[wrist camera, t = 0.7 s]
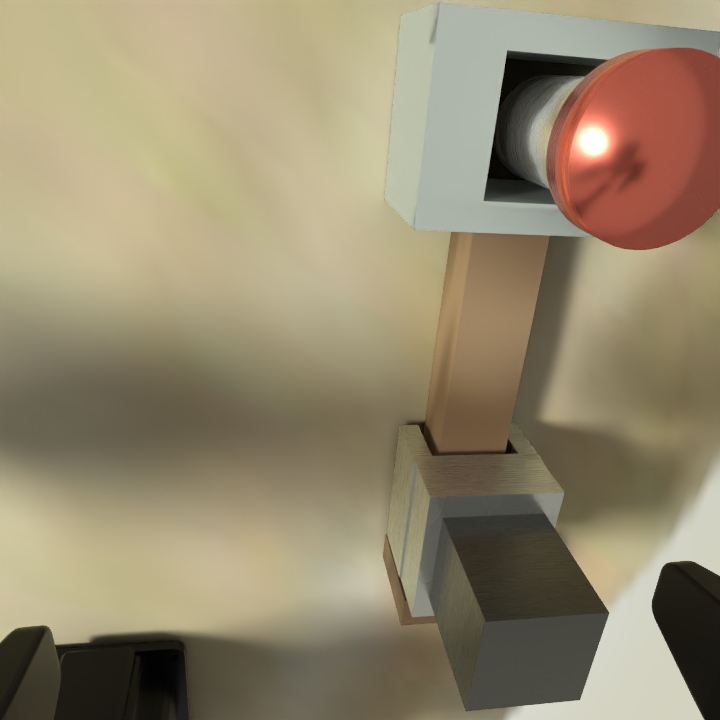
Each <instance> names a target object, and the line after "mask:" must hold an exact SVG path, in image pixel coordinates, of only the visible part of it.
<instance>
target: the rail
mask: <svg viewBox="0 0 720 720" xmlns="http://www.w3.org/2000/svg"><path fill="white" fill-rule="evenodd" d="M549 239H550V236H549V235H524V234H499V233H473V232H451V239H450V246H449V253H448V260H447V267H446V275H445V282H444V289H443V296H442V304H441V311H440V318H439V325H438V332H437V340H436V347H435V354H434V361H433V368H432V376H431V383H430V390H429V397H428V404H427V412H426V419H425V426H424V433H423V437H424V439H425V441H426V444H427V446H428V448H429V450H430V452H431V455H432V456H447V455H486V454H505V451H506V446H507V441H508V437H509V432H510V427H511V422H512V417H513V413H514V408H515V403H516V398H517V393H518V388H519V384H520V379H521V374H522V369H523V364H524V360H525V355H526V350H527V345H528V340H529V335H530V331H531V326H532V321H533V316H534V311H535V307H536V302H537V297H538V292H539V287H540V282H541V278H542V273H543V268H544V263H545V258H546V254H547V249H548V244H549ZM383 558H384V562H385V566H386V570H387V573H388V577H389V581H390V585H391V589H392V593H393V596H394V600H395V604H396V608H397V612H398V616H399V619H400V623H401V625H411V624H425V623H437V621H436V618H435V616H423V617H412V616H411V612H410V609H409V605H408V602H407V598H406V595H405V591H404V588H403V584H402V581H401V578H399V575H398V571H397V568H396V564H395V561H394V557H393V554H392V550H391V547H390V543H389V540H388V536H387V534H386V536H385V544H384V553H383Z"/></svg>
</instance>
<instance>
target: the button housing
mask: <svg viewBox="0 0 720 720" xmlns="http://www.w3.org/2000/svg"><path fill="white" fill-rule="evenodd" d="M656 48H694V49H699V50H703V51H706V52H708V53H711V54H713V55H715V56H717V55H718V52H719V48H720V32H716V31H707V30H697V29H688V28H679V27H669V26H660V25H650V24H641V23H631V22H622V21H612V20H603V19H593V18H584V17H574V16H565V15H555V14H546V13H536V12H527V11H517V10H508V9H498V8H489V7H479V6H470V5H461V4H451V3H442V2H440V3H437V4H434V5H431V6H428V7H425V8H422V9H419V10H416V11H413V12H410V13H407V14H404V15H402V16H401V21H400V33H399V44H398V55H397V66H396V77H395V88H394V99H393V110H392V121H391V132H390V143H389V154H388V165H387V176H386V187H385V200H386V202H387V203H388V204H389V205H390V206H391V207H392V208H393V209H394V210H395V211H396V212H397V213H398V214H399V215H400V216H401V217H402V218H403V219H404V220H405V221H406V222H407V223H408V224H409V225H410V226H411V227H412V228H413V229H414V230H423V231H448V232H473V233H499V234H524V235H549V236H575V237H594V236H592V235H590V234H588V233H586V232H584V231H582V230H581V229H579V228H578V227H576V226H574V225H573V224H572V223H571V222H570V221H569V220H567V219H566V218H565V216H564V215H563V214H562V213H561V211H560V210H559V209H558V207H557V205H556V203H555V202H554V199H553V197H552V194H551V192H550V189H547V188H545V187H542V186H540V185H538V184H535V183H533V182H531V181H526V180H508V179H490V178H487V175H488V169H489V163H490V156H491V150H492V144H493V137H494V131H495V125H496V118H497V112H498V106H499V99H500V93H501V87H502V80H503V74H504V68H505V61H506V58H512V59H523V60H534V61H545V62H556V63H567V64H578V65H589V66H599V65H601V64H603V63H604V62H606V61H608V60H609V59H611V58H614V57H616V56H618V55H620V54H623V53H627V52H630V51H634V50H641V49H656Z"/></svg>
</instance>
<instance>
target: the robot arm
mask: <svg viewBox="0 0 720 720" xmlns="http://www.w3.org/2000/svg"><path fill="white" fill-rule="evenodd" d="M652 611H653V614H654V618H655V620H656V622H657V624H658V626H659V628H660V630H661V633H662V635H663V637H664V639H665V641H666V643H667V645H668V647H669V649H670V651H671V653H672V655H673V657H674V659H675V662H676V664H677V666H678V668H679V670H680V672H681V674H682V676H683V678H684V680H685V682H686V684H687V686H688V688H689V691H690V693H691V695H692V697H693V699H694V701H695V702H696V705H697V706H698V708H699V710H700V712H701V714H702V716H703V718H704V719H705V720H720V576H719V575H717V574H715V573H713V572H711V571H710V570H708V569H706V568H704V567H702V566H700V565H699V564H697V563H695V562H692V561H680V562H670V563H667V564H665V565H664V566H663V568H662V570H661V573H660V576H659V579H658V583H657V586H656V589H655V593H654V596H653V599H652ZM173 653H174V654H173ZM0 720H190V705H189V689H188V673H187V657H186V647H185V645H184V644H183V643H182V642H179V641H161V642H147V643H133V644H120V645H106V646H92V647H79V648H65V649H56V648H55V644H54V639H53V635H52V632H51V630H50V628H49V627H47V626H44V625H42V626H32V627H23V628H17V629H15V630H14V631H12V632H11V633H10V634H8V635H7V636H6V637H5V638H4V639H3V640H2V641H1V642H0Z"/></svg>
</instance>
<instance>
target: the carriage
mask: <svg viewBox="0 0 720 720" xmlns="http://www.w3.org/2000/svg"><path fill="white" fill-rule="evenodd" d="M564 493H565V492H564V491H563V489H562V488H561V487H560V485H559V484H558V483H557V481H556V480H555V478H554V477H553V476H552V474H551V473H550V472H549V470H548V469H547V467H546V466H545V465H544V463H543V462H542V459H541V457H540V456H539V454H538V453H537V452H536V450H535V449H534V448H533V446H532V445H531V444H530V442H529V441H528V439H527V438H526V437H525V435H524V434H523V433H522V431H521V430H520V428H519V427H518V426H517V424H516V423H511V427H510V432H509V437H508V441H507V446H506V451H505V454H486V455H447V456H432V455H431V452H430V450H429V448H428V446H427V444H426V441H425V439H424V437H423V435H422V433H421V430H420V428H419V426H418V425H399V433H398V441H397V450H396V458H395V467H394V475H393V484H392V492H391V500H390V509H389V517H388V526H387V536H388V540H389V543H390V547H391V550H392V554H393V557H394V561H395V564H396V568H397V571H398V575H399V578H401V581H402V584H403V588H404V591H405V595H406V598H407V602H408V605H409V609H410V612H411V616H412V617H423V616H435V618H436V621H437V624H438V628H439V631H440V634H441V637H442V640H443V643H444V646H445V649H446V652H447V655H448V658H449V661H450V664H451V667H452V670H453V673H454V676H455V679H456V683H457V686H458V689H459V692H460V695H461V698H462V701H463V704H464V707H465V710H466V711H473V710H483V709H493V708H503V707H513V706H523V705H533V704H542V703H553V702H563V701H573V700H580V698H581V694H582V692H583V689H584V686H585V683H586V680H587V677H588V674H589V671H590V668H591V665H592V662H593V659H594V656H595V653H596V651H597V648H598V645H599V642H600V639H601V635H602V633H603V629H604V627H605V624H606V621H607V618H608V615H609V612H608V610H607V609H606V607H605V605H604V604H603V602H602V601H601V599H600V598H599V596H598V595H597V593H596V592H595V590H594V588H593V587H592V585H591V584H590V582H589V581H588V579H587V578H586V576H585V575H584V573H583V572H582V570H581V568H580V567H579V565H578V564H577V562H576V561H575V559H574V558H573V556H572V555H571V553H570V551H569V550H568V548H567V547H566V545H565V544H564V542H563V541H562V539H561V538H560V536H559V534H558V533H557V531H556V530H555V527H556V523H557V520H558V516H559V512H560V508H561V505H562V501H563V497H564Z"/></svg>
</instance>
